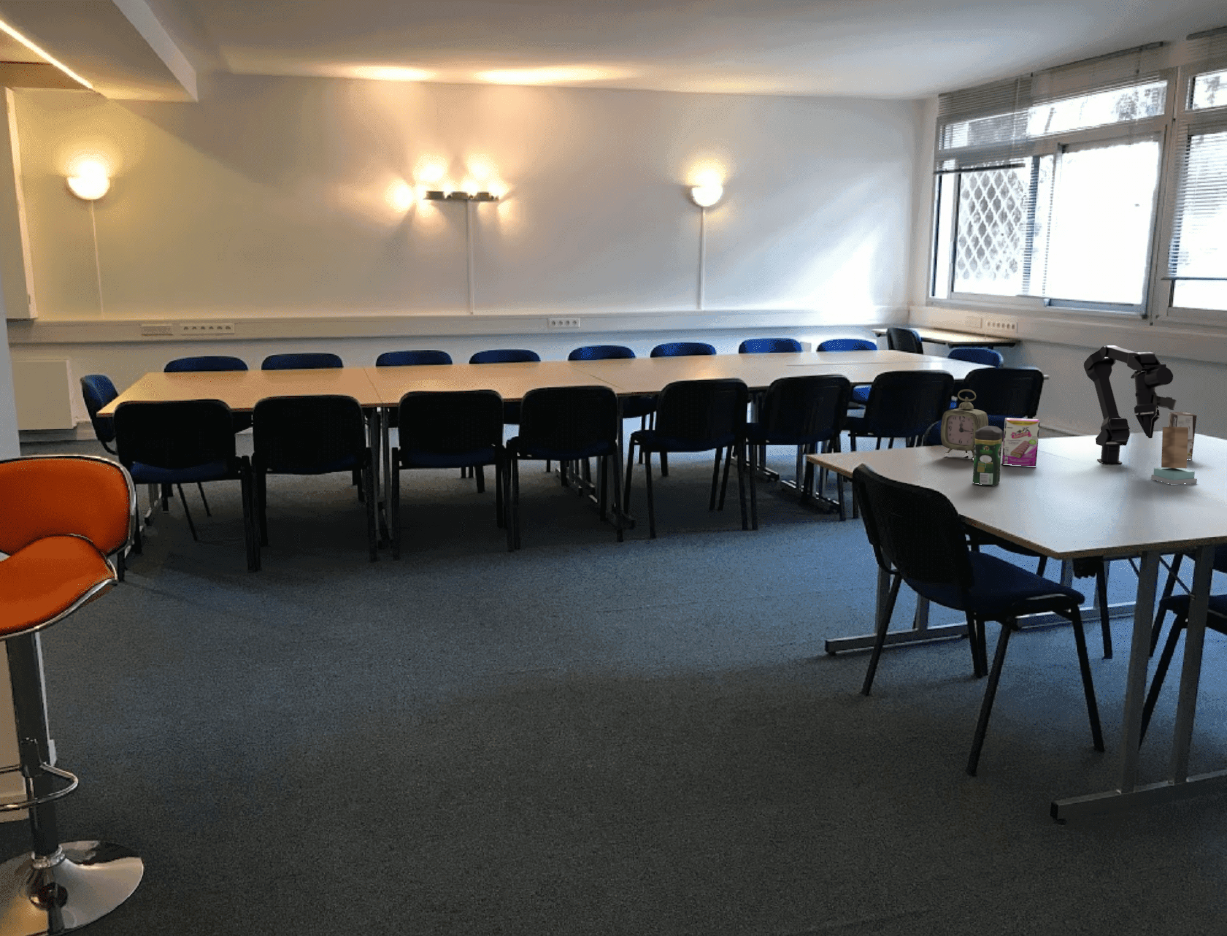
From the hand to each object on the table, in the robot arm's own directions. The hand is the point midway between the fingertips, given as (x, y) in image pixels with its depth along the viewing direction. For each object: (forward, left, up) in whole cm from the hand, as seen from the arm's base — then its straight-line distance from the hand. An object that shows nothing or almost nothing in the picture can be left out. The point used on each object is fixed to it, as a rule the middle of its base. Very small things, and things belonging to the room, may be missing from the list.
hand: (1149, 437), depth 319 cm
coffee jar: (+18, -54, -13) cm, 59 cm away
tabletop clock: (-25, -53, -13) cm, 60 cm away
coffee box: (-30, +21, -13) cm, 38 cm away
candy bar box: (-12, -37, -13) cm, 41 cm away
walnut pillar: (+10, +5, -8) cm, 14 cm away
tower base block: (+10, +5, -13) cm, 17 cm away
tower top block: (+10, +5, -11) cm, 16 cm away
